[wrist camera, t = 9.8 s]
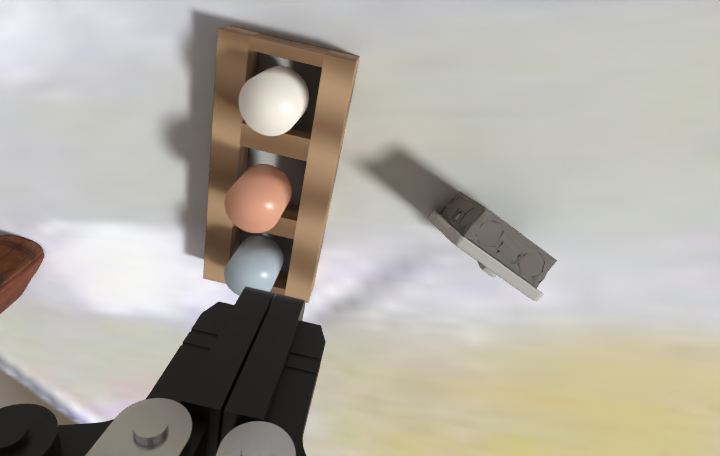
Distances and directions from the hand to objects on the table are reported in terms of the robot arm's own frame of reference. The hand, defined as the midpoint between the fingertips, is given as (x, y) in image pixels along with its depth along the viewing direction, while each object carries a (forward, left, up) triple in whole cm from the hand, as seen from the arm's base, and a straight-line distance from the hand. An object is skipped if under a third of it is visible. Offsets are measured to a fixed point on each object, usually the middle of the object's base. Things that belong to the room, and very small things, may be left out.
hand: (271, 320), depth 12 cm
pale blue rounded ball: (+18, -7, -29) cm, 35 cm away
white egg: (+2, -7, -29) cm, 30 cm away
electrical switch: (+10, +13, -32) cm, 36 cm away
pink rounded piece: (+10, -7, -28) cm, 30 cm away
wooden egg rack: (+10, -7, -32) cm, 34 cm away
